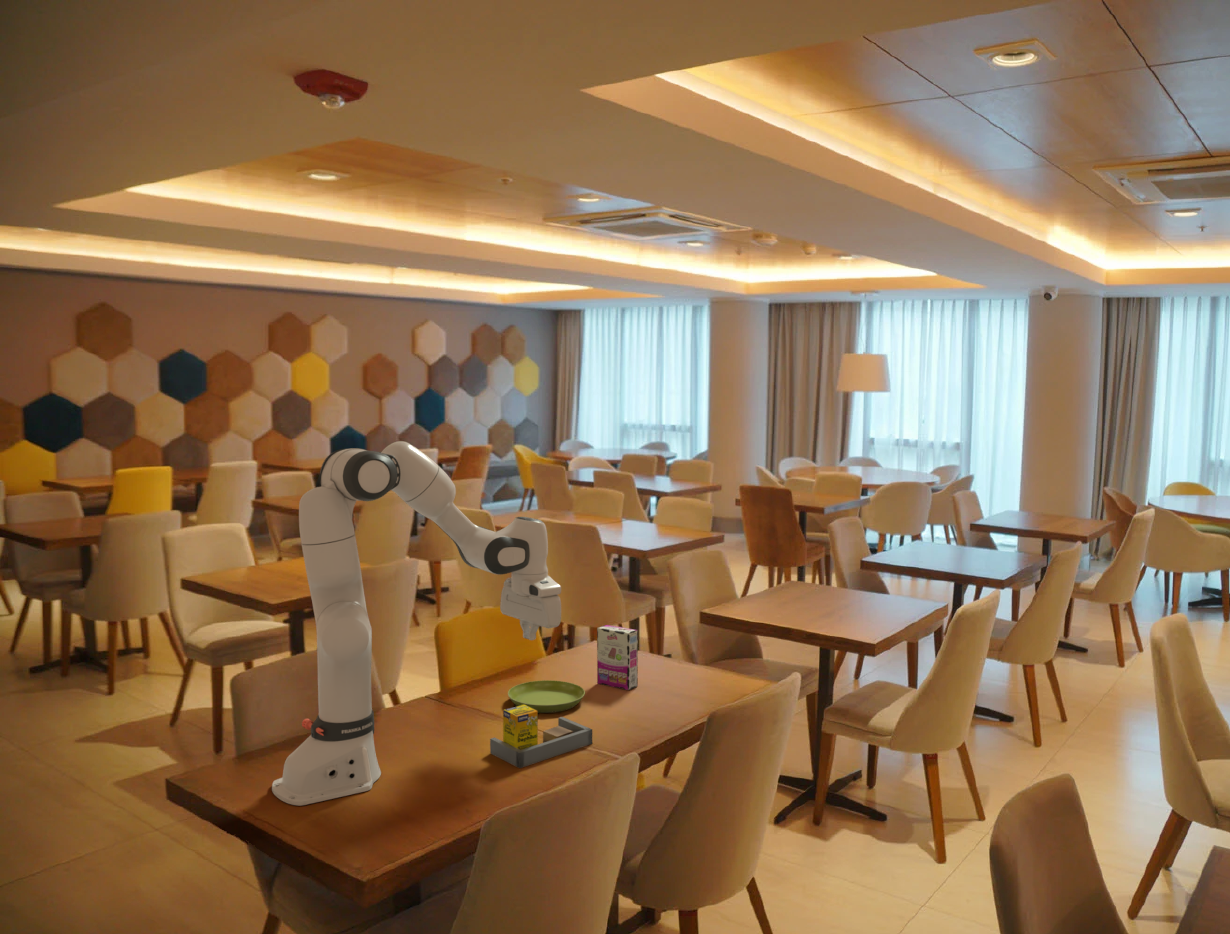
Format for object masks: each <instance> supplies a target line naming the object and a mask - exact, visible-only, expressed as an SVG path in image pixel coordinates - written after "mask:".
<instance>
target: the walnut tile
mask: <svg viewBox="0 0 1230 934" xmlns="http://www.w3.org/2000/svg"><path fill="white" fill-rule="evenodd" d="M572 733H573V731H571V730H568V729H566V728H563V727H560V726H558V725H557V726H554V727H552V728H548V729H545V730H543V731H542V743H544V742H547V741H550V740H554V739H557V738H560V737H563V736H566V735H569V734H572Z"/></svg>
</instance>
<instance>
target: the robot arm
mask: <svg viewBox="0 0 1230 934" xmlns="http://www.w3.org/2000/svg"><path fill="white" fill-rule="evenodd" d="M315 486H316V487H314V488H311V489H310V490H308V491H306V492H305V493H303V494H302V496H301V498H300V500H299V502H298V503H299V504H298V505H299V506H298V526H299V527H298V528H299V536H300V543H301V549H302V555H303V561H304V566H305V574H306V577H307V583H308V588H309V593H310V598H311V602H312V609H313V614H314V615H313V616H314V619H315V627H316V629H315V630H316V652H317V655H316V657H317V686H318V687H317V694H318V695H317V701H318V715H317V716H316V719H315V720H314V721H313V720H311V719H310V718H304V719H303V720H302V722H301V727H302V728H304V729H306V730H308V731H310V735H309V736H308V737H307V738H306V739H305V740H304V741H303V742H301V743H300V745H299V746H298V747H297V748H296V749H294V750H293V751H292V752H291V753H290V754H289V755H288V756H287V757H286V760H285V761H284V764H283V771H282V777H280V778H277V779H275V780H273V782H272V784H271V791H272V794H273V795H274V796H275V797H276V798H278V799H279V800H280V801H282V802H283V803H286V804H288V805H292V806H297V807H298V806H300V807H301V806H306V805H310V804H311V805H312V804H315V803H319V802H323V801H329V800H332V799H338V798H341V797H346V796H350V795H354V794H359V793H363V792H367V791H370V790H372V788H373V784H374V783H375V782H377V780H379V778H380V777H381V774H382V771H381V768H380V765H379V763H378V762H379V761H378V758H377V755H376V747H375V739H374V734H375V714H374V710H373V709H372V708H373V706H372V705H373V704H372V703H373V702H372V655H373V654H372V653H373V652H372V649H373V648H372V647H373V646H372V641H373V637H372V636H373V633H372V632H373V629H372V625H371V622H370V617H369V614H368V609H367V603H366V596H365V590H364V583H363V576H362V574H363V573H362V569H361V563H360V556H359V551H358V549H359V548H358V545H357V544H358V543H357V538H356V533H355V528H354V527H355V526H354V523H353V512H354V508H355V506H356V503H357V502H358V501H359V502H360V501H361V502H372V501H376V500H378V499H381V498H382V497H384V496H386V495H387V494H388V493H389V492H393V493H395V494H396V495H397V496H398V497H399V498H400V499H401V500H402V501H403V502H404V503H405V504H407V506H408V507H410V508H411V509H412V510H414V511H415V512H417V513H418V514H420V515H422V516H424V517H425V518H427V519H429V520H431V521H432V522H434V524H436V526H438V528H440V529H441V531H443V532H444V534H445V535H447V537H449V539H451V540H452V542H453V543H454V545H455V546H456V548H457V550H458V553H459V556H460V558H461V559H462V560H463V562H464V563H465V564H466V565H467V566H469V567H470V568H471V567H472V568H475V569H479V570H481V571H485V572H487V573H490V574H493V575H498V576H499V575H500V576H501V575H506V574H511V577H507V578H506V579H505V580H504V582H503V587H502V589H501V592H500V593H501V594H500V607H499V608H500V612H501V613H502V615H505V616H508V617H512V618H514V619H517V620H519V625H520V627H521V629H522V637H523V638H524V639H527V640H529V641H535V640H536V639H537V632H538V629H539V627H543V628H546V629H552V628H557V627H559V626H560V624H561V622H562V621H561V620H562V602H561V597H560V596H559V595H561V593H562V585H560V584H559V583H558V582H556V581H555V580H554V579H553V578H552V577H551V576H550V575H549V568H548V565H547V564H548V563H547V557H548V554H549V542H548V541H549V540H548V538H549V537H548V531H547V526H546V524H545V523H544V521H542V520H541V519H538V518H535V517H534V518H532V517H528V516H516V517H515V518H514V519H513V520H512V522H510V523H509V524H508V525H507V526H505V527H503V528H502V529H499V530H496V531H493V530H492V529H489V528H486V527H483V526H480V525H477V524H475V523H474V522H472V521H471V520H470V519H469V517H467V516H466V515H465V514H464V513H463V512H462V511H461V509H459V508H458V506H456V504H455V503H454V501H455V497H456V494H457V488H456V485H455V483H454V482H453V480H452V478H451V477H450V476H449V475H448V474H447V472H446V471H445V470H444V469H443V468H442V467H441V466H440V465H439V464H437V463H436V462H435V461H434V460H433V459H432V458H430V457H429V456H428V455H427V454H426V453H424V452H423V451H421V450H420V449H418V448H417V447H416V446H414V445H412V444H411V443H409V442H407V441H403V440H399V441H395V442H392V443H390V444H389V445H387V446H386V447H385V448H383V450H382V451H381V452H379V451H375V450H366V449H364V448H358V447H356V448H353V447H352V448H341V449H340V448H339V449H338V450H335V451H333V452H331V453H329V454H328V455H327V456H326V458H325V459H324V460H323V462H322V464H321V467H320V471H319V475H318V478H317V480H316V483H315Z"/></svg>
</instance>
